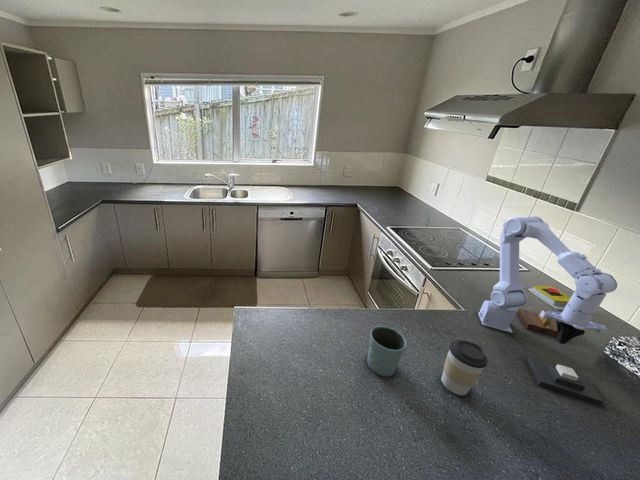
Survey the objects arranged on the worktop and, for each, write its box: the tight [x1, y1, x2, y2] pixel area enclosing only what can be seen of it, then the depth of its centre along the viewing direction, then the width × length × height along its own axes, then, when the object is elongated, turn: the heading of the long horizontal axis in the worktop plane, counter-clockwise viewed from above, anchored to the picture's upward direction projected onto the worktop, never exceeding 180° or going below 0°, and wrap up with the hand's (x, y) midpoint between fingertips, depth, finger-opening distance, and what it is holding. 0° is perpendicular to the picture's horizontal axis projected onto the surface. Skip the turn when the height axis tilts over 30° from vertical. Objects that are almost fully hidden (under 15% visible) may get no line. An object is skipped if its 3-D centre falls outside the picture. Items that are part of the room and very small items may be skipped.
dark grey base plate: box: [526, 357, 604, 406], centre depth 87 cm, size 14×10×4 cm
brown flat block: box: [517, 308, 557, 338], centre depth 111 cm, size 12×10×3 cm
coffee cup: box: [440, 339, 489, 396], centre depth 83 cm, size 9×9×15 cm
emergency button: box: [527, 285, 571, 311], centre depth 126 cm, size 9×4×15 cm
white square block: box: [555, 363, 579, 381], centre depth 86 cm, size 4×4×2 cm
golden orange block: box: [539, 309, 552, 325], centre depth 109 cm, size 5×2×4 cm, turn 154°
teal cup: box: [366, 325, 407, 377], centre depth 89 cm, size 10×10×12 cm
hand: (560, 341), depth 91 cm, fingers closed
